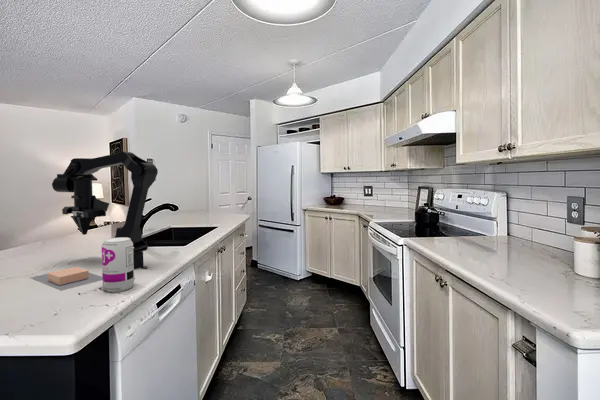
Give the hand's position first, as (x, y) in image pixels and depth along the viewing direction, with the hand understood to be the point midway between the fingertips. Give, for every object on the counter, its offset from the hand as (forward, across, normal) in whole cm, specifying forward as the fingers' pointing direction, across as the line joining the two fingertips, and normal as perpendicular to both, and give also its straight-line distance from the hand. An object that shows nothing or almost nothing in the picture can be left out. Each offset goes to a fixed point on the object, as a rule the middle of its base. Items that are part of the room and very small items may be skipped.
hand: (84, 234), depth 118 cm
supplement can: (+12, -34, +8) cm, 36 cm away
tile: (+10, -12, +13) cm, 20 cm away
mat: (+12, -13, +12) cm, 22 cm away
